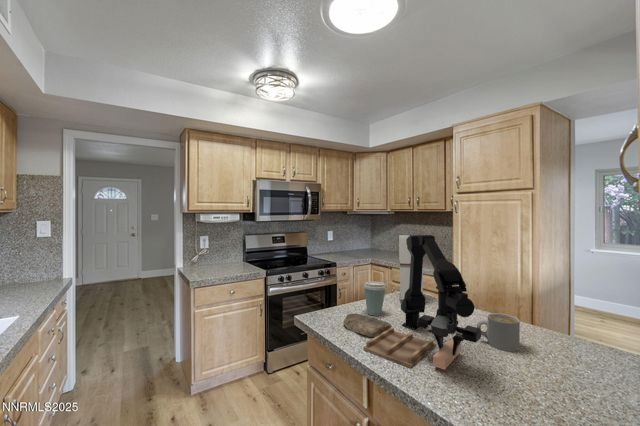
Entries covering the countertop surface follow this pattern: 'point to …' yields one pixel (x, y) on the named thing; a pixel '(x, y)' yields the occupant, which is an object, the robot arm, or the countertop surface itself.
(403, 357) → the rack
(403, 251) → the white tall box
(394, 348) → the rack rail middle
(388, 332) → the rack rail
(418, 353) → the rack rail
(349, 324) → the brown rock
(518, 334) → the coffee mug
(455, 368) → the countertop surface
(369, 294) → the disposable coffee cup
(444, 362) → the clay strip
